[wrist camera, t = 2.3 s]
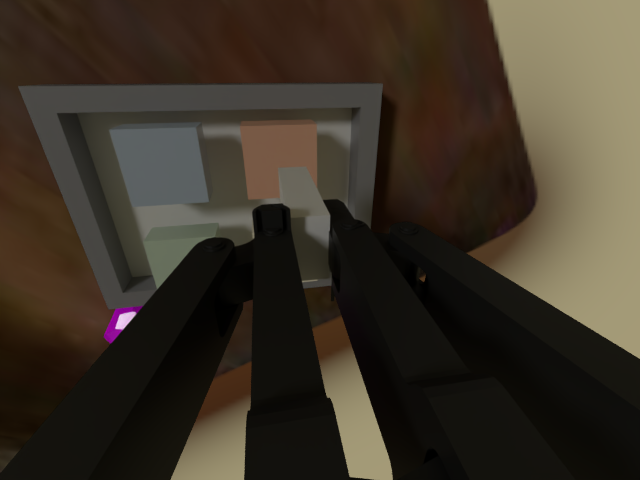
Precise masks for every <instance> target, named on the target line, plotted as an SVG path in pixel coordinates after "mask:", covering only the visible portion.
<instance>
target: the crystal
mask: <svg viewBox="0 0 640 480" xmlns="http://www.w3.org/2000/svg"><path fill="white" fill-rule="evenodd" d="M142 307H143V306H136V307H127V308H118V309H116V310H115V312H114V315H113V317H112V319H111V321H110V323H109V325H108V328H107V330H106V332H105V334H104V338H105V339H106V340H107V341H108V342H109V343H110V344H111V343H112V342H113V341H114V340H115V338H116V337H117V336H118V335H119V334H120V332H121V331H122V330H123V329H124V328H125V327H126V325H127V324H128V323H129V322H130V321H131V320H132V318H133V317H134V316H135V315H136V314H137V313H138V311H139V310H140V309H141V308H142Z"/></svg>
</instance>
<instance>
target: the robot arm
mask: <svg viewBox="0 0 640 480" xmlns="http://www.w3.org/2000/svg"><path fill="white" fill-rule="evenodd" d="M278 175H279V191H280V203H278V204H262V205H260V206H258V207H256V208H255V209H253V211H252V217H253V226H254V239H252V240H251V241H250V242H247V243H245V244H242V245H239V246H235V245H234V242H233V241H232V240H230V239H228V238H222V237H217V238H216V237H212V238H208V239H205V240H203V241H201V242H199V243H197V244H196V245H195V246H194V247H193V248H192V249H191V250H190V252H189V253H188V254H187V255H186V256H185V258H184V259H183V260H182V261H181V262H180V263H179V265H178V266H177V267H176V268H175V269H174V270H173V272H172V273H171V274H170V275H169V276H168V277H167V279H166V280H165V281H164V282H163V283H162V284H161V286H160V287H159V288H158V289H157V290H156V291H155V293H154V294H153V295H152V296H151V297H150V299H149V300H148V301H147V302H146V303H145V304H144V306H143V307H142V308H141V309H140V310H139V311H138V313H137V314H136V315H135V316H134V317H133V318H132V320H131V321H130V322H129V323H128V324H127V325H126V327H125V328H124V329H123V330H122V331H121V332H120V334H119V335H118V336H117V337H116V338H115V340H114V341H113V342H112V343H111V344H110V345H109V347H108V348H107V349H106V350H105V351H104V352H103V354H102V355H101V356H100V357H99V358H98V359H97V361H96V362H95V363H94V364H93V365H92V366H91V368H90V369H89V370H88V371H87V372H86V373H85V375H84V376H83V377H82V378H81V379H80V381H79V382H78V383H77V384H76V385H75V386H74V388H73V389H72V390H71V391H70V392H69V393H68V395H67V396H66V397H65V398H64V399H63V400H62V402H61V403H60V404H59V405H58V406H57V407H56V409H55V410H54V411H53V412H52V413H51V414H50V416H49V417H48V418H47V419H46V420H45V422H44V423H43V424H42V425H41V426H40V427H39V429H38V430H37V431H36V432H35V433H34V434H33V436H32V437H31V438H30V439H29V440H28V441H27V443H26V444H25V445H24V446H23V447H22V448H21V450H20V451H19V452H18V453H17V454H16V456H15V457H14V458H13V459H12V460H11V461H10V463H9V464H8V465H7V466H6V467H5V468H4V470H3V471H2V472H1V473H0V480H170V479H171V476H172V475H173V472H174V470H175V468H176V465H177V463H178V461H179V458H180V456H181V453H182V451H183V449H184V446H185V444H186V442H187V439H188V437H189V435H190V432H191V430H192V428H193V425H194V423H195V421H196V418H197V416H198V413H199V411H200V409H201V406H202V404H203V402H204V399H205V397H206V395H207V392H208V390H209V388H210V385H211V383H212V381H213V378H214V376H215V373H216V371H217V369H218V366H219V364H220V362H221V359H222V357H223V355H224V352H225V350H226V348H227V345H228V343H229V341H230V338H231V336H232V333H233V331H234V329H235V326H236V324H237V322H238V319H239V317H240V315H241V312H242V310H243V302H246V301H249V300H252V299H253V323H252V373H251V375H252V376H251V409H250V411H248V413H247V421H246V444H245V445H246V446H245V475H244V480H371V479H363V478H352V477H349V473H348V468H347V464H346V459H345V455H344V451H343V446H342V442H341V437H340V433H339V429H338V425H337V420H336V415H335V411H334V408H333V404H332V401H331V399H330V398H327V396H326V393H325V389H324V384H323V379H322V374H321V369H320V365H319V360H318V355H317V350H316V346H315V341H314V336H313V331H312V327H311V322H310V317H309V312H308V308H307V303H306V298H305V293H304V289H303V284H302V281H306V280H317V279H327V278H329V267H330V270H331V273H332V282H331V301H334V297H336V300H337V303H338V306H339V309H340V312H341V315H342V318H343V321H344V324H345V327H346V330H347V333H348V336H349V339H350V342H351V345H352V348H353V351H354V354H355V357H356V360H357V363H358V366H359V369H360V372H361V375H362V378H363V381H364V384H365V387H366V390H367V393H368V396H369V398H370V401H371V405H372V407H373V411H374V414H375V417H376V419H377V423H378V425H379V429H380V431H381V434H382V438H383V441H384V443H385V447H386V449H387V452H388V455H389V459H390V463H391V468H392V475H393V480H640V359H639V358H637V357H636V356H634V355H632V354H631V353H629V352H627V351H626V350H624V349H623V348H621V347H619V346H618V345H616V344H614V343H613V342H611V341H609V340H608V339H606V338H604V337H602V336H601V335H599V334H598V333H596V332H594V331H593V330H591V329H590V328H588V327H586V326H585V325H583V324H581V323H580V322H578V321H577V320H575V319H573V318H572V317H570V316H568V315H566V314H565V313H563V312H562V311H560V310H558V309H557V308H555V307H553V306H552V305H550V304H549V303H547V302H545V301H544V300H542V299H540V298H538V297H537V296H535V295H534V294H532V293H530V292H529V291H527V290H526V289H524V288H522V287H521V286H519V285H517V284H516V283H514V282H512V281H511V280H509V279H508V278H506V277H504V276H503V275H501V274H499V273H498V272H496V271H494V270H493V269H491V268H489V267H488V266H486V265H485V264H483V263H481V262H480V261H478V260H476V259H475V258H473V257H471V256H470V255H468V254H466V253H465V252H463V251H462V250H460V249H458V248H457V247H455V246H453V245H452V244H450V243H448V242H447V241H445V240H443V239H442V238H440V237H439V236H437V235H435V234H434V233H432V232H430V231H429V230H427V229H425V228H424V227H422V226H420V225H417V224H413V223H411V222H401V223H395V224H392V225H391V226H390V229H389V234H384V233H374V232H372V231H371V229H370V228H369V226H368V225H367V224H366V223H365V222H363V221H360V220H357V219H354V217H353V216H352V214H351V213H350V212H349V210H348V208H347V207H346V205H345V204H344V202H342V201H340V200H338V199H329V200H322V198H321V196H320V194H319V192H318V190H317V188H316V185H315V183H314V181H313V179H312V177H311V175H310V173H309V171H308V169H307V167H306V166H305V167H283V168H278ZM420 269H422V270H423V271H424V272H425V273H426V278H425V281H424V282H422V281H421V280H420V279H419V274H420Z"/></svg>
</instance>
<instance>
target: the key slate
mask: <svg viewBox="0 0 640 480" xmlns="http://www.w3.org/2000/svg"><path fill="white" fill-rule="evenodd" d="M109 131H110V134H111V138H112V141H113V144H114V147H115V151H116V154H117V157H118V161H119V164H120V167H121V171H122V174H123V177H124V181H125V184H126V187H127V191H128V194H129V197H130V201H131V204H132V207H141V206H157V205H172V204H188V203H204V202H209V201H210V198H211V195H212V193H213V187H212V181H211V175H210V169H209V163H208V157H207V151H206V145H205V140H204V134H203V128H202V122H183V123H142V124H122V125H120V126H117V127H115V128H112V129H110V130H109Z"/></svg>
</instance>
